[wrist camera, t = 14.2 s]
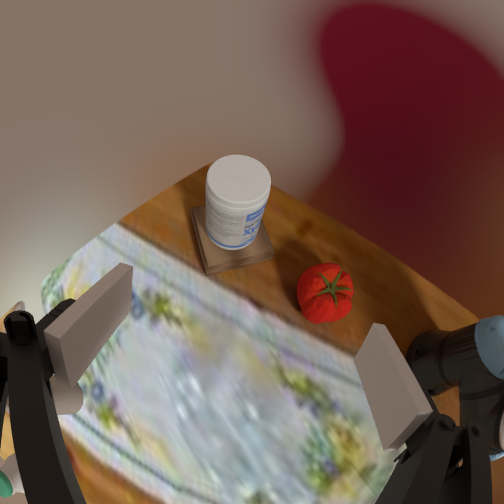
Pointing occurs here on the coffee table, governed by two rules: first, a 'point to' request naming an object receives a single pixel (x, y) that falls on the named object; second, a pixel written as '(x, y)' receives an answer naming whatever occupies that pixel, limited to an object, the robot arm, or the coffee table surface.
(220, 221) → the supplement tub
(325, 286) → the tomato
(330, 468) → the coffee table surface
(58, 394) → the beige bookend
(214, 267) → the plinth
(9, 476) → the milk bottle
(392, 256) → the coffee table surface
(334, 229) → the coffee table surface
